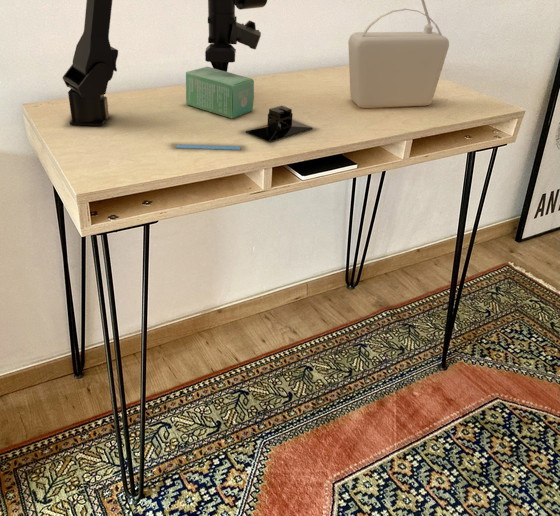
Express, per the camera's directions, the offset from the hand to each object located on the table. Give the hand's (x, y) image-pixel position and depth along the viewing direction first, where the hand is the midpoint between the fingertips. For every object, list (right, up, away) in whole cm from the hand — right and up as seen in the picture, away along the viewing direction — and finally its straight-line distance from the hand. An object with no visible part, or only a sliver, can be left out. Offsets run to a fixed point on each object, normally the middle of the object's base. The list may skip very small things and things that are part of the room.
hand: (222, 83), depth 143 cm
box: (0, -7, -5) cm, 9 cm away
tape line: (0, -19, -25) cm, 31 cm away
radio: (+39, -4, +4) cm, 39 cm away
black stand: (+13, -14, -16) cm, 25 cm away
